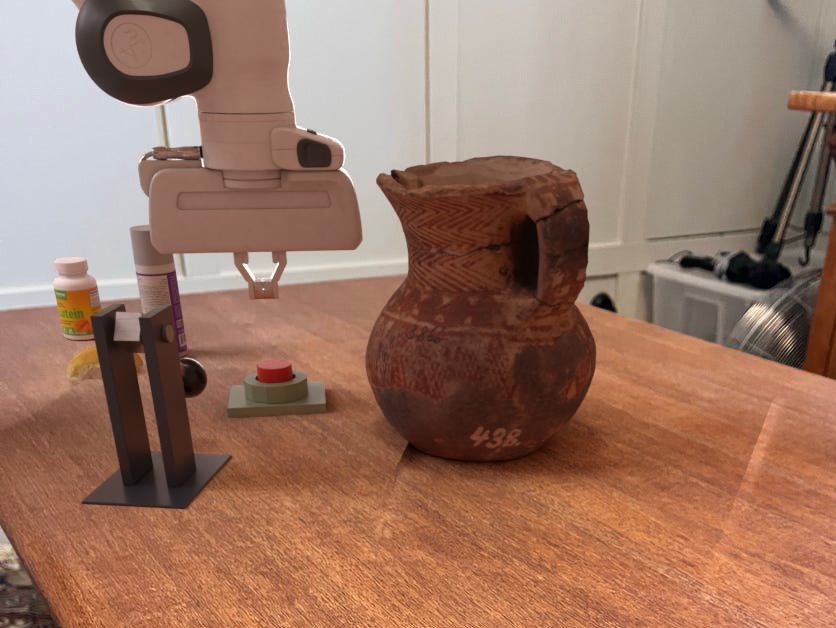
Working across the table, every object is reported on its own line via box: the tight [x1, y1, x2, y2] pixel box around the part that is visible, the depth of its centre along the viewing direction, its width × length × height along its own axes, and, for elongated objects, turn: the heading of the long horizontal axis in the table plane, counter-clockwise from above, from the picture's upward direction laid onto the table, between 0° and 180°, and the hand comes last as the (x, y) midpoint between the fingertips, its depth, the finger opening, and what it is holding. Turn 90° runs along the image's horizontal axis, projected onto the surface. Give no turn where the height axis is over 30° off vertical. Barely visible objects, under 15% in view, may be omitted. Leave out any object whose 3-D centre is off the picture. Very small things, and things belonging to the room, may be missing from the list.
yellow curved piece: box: [66, 344, 144, 386], centre depth 118 cm, size 8×9×4 cm
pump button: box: [256, 359, 293, 383], centre depth 106 cm, size 4×4×2 cm
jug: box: [364, 154, 597, 463], centre depth 95 cm, size 22×21×25 cm
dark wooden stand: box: [81, 303, 233, 510], centre depth 86 cm, size 12×9×16 cm
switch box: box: [226, 368, 328, 418], centre depth 107 cm, size 10×8×4 cm
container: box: [129, 224, 189, 358], centre depth 124 cm, size 5×5×15 cm
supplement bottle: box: [52, 256, 103, 341], centre depth 133 cm, size 5×5×10 cm
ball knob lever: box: [114, 311, 208, 399], centre depth 88 cm, size 14×4×4 cm
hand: (264, 298), depth 102 cm, fingers closed
